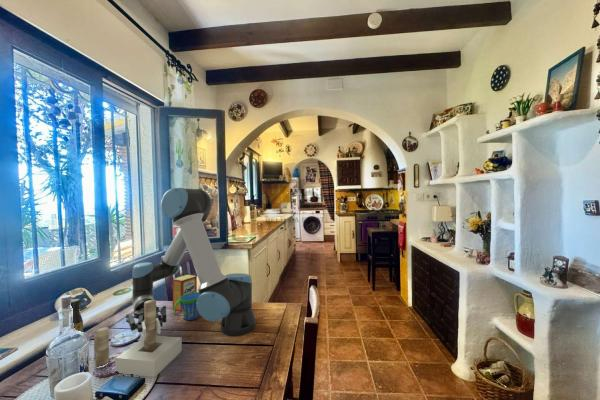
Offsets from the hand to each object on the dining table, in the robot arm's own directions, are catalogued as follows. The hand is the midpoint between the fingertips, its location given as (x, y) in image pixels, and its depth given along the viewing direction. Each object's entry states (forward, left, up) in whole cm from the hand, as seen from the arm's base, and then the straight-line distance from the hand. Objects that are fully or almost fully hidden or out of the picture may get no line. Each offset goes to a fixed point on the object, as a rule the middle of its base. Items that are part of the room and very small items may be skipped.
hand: (152, 331), depth 83 cm
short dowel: (+24, -4, -13) cm, 27 cm away
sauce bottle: (+35, -3, -13) cm, 37 cm away
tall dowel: (+4, -4, -10) cm, 11 cm away
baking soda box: (+19, -47, -13) cm, 52 cm away
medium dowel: (+19, 0, -13) cm, 23 cm away
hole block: (+4, -4, -13) cm, 14 cm away
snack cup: (+9, -37, -13) cm, 40 cm away
